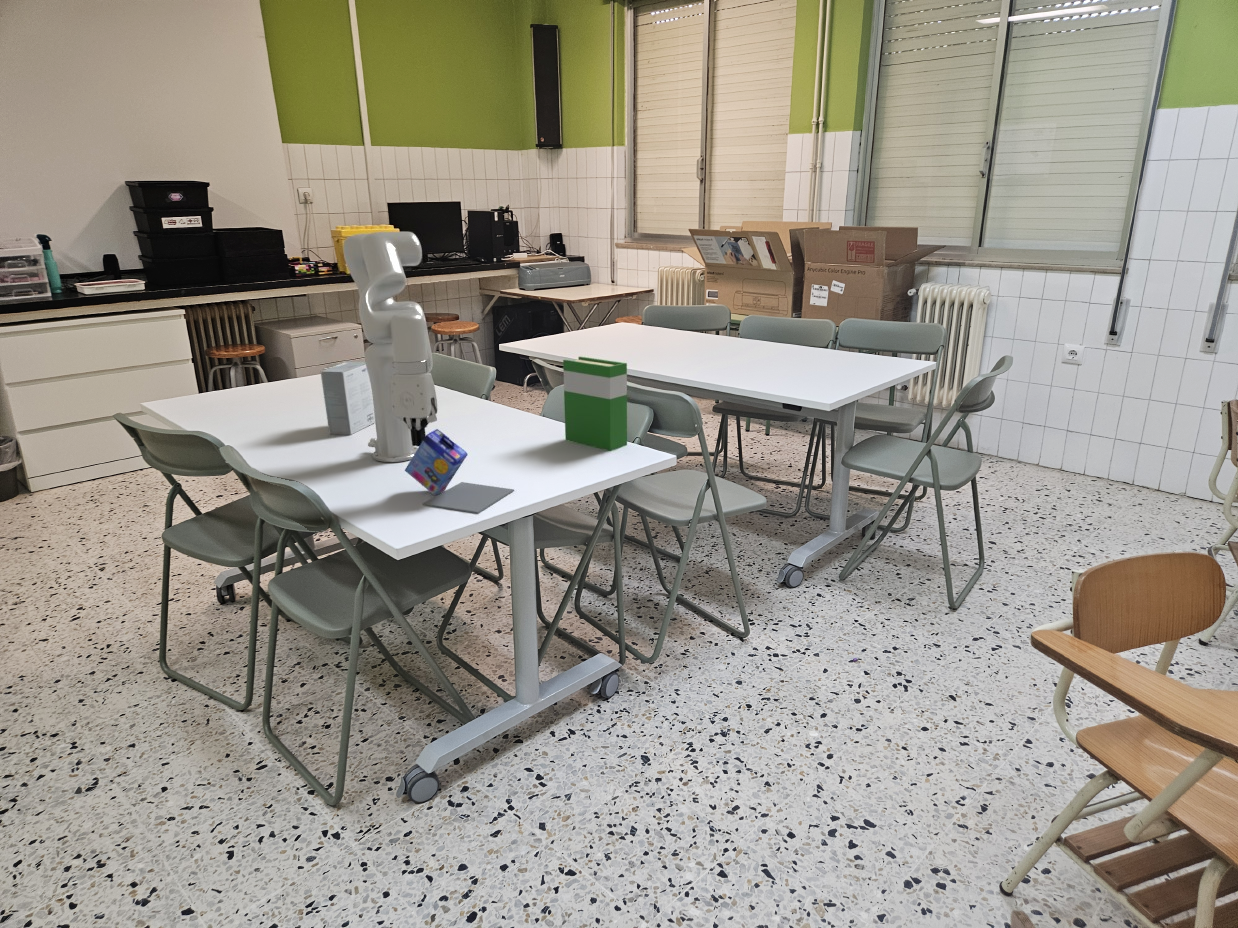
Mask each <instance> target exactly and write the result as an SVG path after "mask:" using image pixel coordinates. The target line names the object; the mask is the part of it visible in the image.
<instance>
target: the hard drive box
mask: <svg viewBox="0 0 1238 928" xmlns="http://www.w3.org/2000/svg"><path fill="white" fill-rule="evenodd" d="M320 377H321V387H322V391H323V399H324V405H325V406H324V407H325V413H326V420H327V427H328V433H329V435H337V434H338V435H339V436H341V435H342V436H351V435H353V434H355V433H358V432H360V431H361V430H363V429H365V428H367V427H369V425H370V426H371V425H373V424H375V415H374V406H373V397H372V389H371V383H370V379H369V375H368V371H367V367H366V363H365V361H363V362H362V361H346V362H345V361H344V362H343V363H340V364H337V365H335V366H332V367H329V368H327V369H324V370H321V371H320Z"/></svg>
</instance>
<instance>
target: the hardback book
mask: <svg viewBox="0 0 1238 928" xmlns="http://www.w3.org/2000/svg"><path fill="white" fill-rule="evenodd" d="M562 363H563V364H562V366H563V367H562V368H563V397H564V399H563V400H564V402H563V405H564V427H565V429H564V430H565V439H564V440H565V441H567V442H572V443H576V444H579V445H580V444H581V445H585V446H589V447H593V448H597V449H601V450H604V451H610V452H611V451H615V450H617V449H620V448H623V447H626V446H628V363H627V362H621V361H614V360H608V359H602V358H601V359H600V358H592V357H586V356H578V359H576V360H570V359H563V360H562Z"/></svg>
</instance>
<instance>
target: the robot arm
mask: <svg viewBox="0 0 1238 928" xmlns="http://www.w3.org/2000/svg"><path fill="white" fill-rule="evenodd" d="M342 245H343V246H342V250H343V251H342V252H343V257H344V260H345V264H346V267H347V270H348V271H349V273H350V276H351V278H352V280H353V281H354V283H355V285H356V288H357V291H358V294H359V299H358V300H359V301H358V315H359V319H360V322H361V327H362V330H363V334H364V336H365V338H366V340H367V341H368V342H370V343H371V345H370V346H368V347H367V348H366V349H365V352H364V362H365V363H366V367H367V371H368V375H369V379H370V385H371V392H372V400H373V408H374V415H375V423H374V424H375V432H376V437H375V438H374V437H372V438H370V439H369V441H368V442H367V447H370V448H374V449H375V451H374V452H373V453H372V458H373V459H374V460H375V461H378V462H383V463H398V462H399V463H400V462H406V461H411V459H412V458H413V456H414V454H415V453H416V451H417V449H418V448H419V446H420V444H421V443H422V441H423V440H424V438H425V436H426V435H427V434H426V428H428V425H430V424H431V423H435V422H437V421H438V418H437V413H438V400H437V394H436V393H437V392H436V387H435V382H434V380H433V376H432V373H431V371H432V370H433V366H434V365H433V363H434V362H433V361H434V360H433V353H432V347H431V342H430V337H429V332H428V326H427V325H428V324H427V321H426V320H427V319H426V316H425V313H424V310H423V308H422V306H421V305H420V304H419V303H417V302H416V301H407V300H406V301H395V299H394V297H395V296H397V295H399V294H400V293H402V291H404V289H405V288H406V285H407V277H406V274H405V271H404V268H403V267H416V266H418V265H419V264H420V263H421V262H422V258H423V250H422V245H421V242H420V240H419V238H418V236H417V235H416V234H415V233H414V232H413V231H376V232H371V233H358V234H353V235H349V236H348V237H346V238H345V239H344V241H343V244H342Z"/></svg>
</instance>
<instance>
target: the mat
mask: <svg viewBox="0 0 1238 928" xmlns="http://www.w3.org/2000/svg"><path fill="white" fill-rule="evenodd" d="M513 491H514V492H515V489H514V488H506V487H500V486H491V485H486V484H479V483H471V482H464V481H461V482H459V483H458V484H455V485H454V486H452V487H450V488H448V489H445V490H443V491H442V492H440V493H439V494H437V495H434V496H433V497H431V498H430V499H428V500H426V501H424V502H423V503H422V506H427V507H433V508H438V509H444V510H453V511H458V512H465V513H469V514H477V515H479V514H481V513H482V512H483V511H485V510H486V509H488V508H490V507H491V506H493V505H495V504H497V503H498V502H499V501H501V500H502V499H504V498H506V497H507V496H508V494H509V495H510V494H511V493H513Z"/></svg>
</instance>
